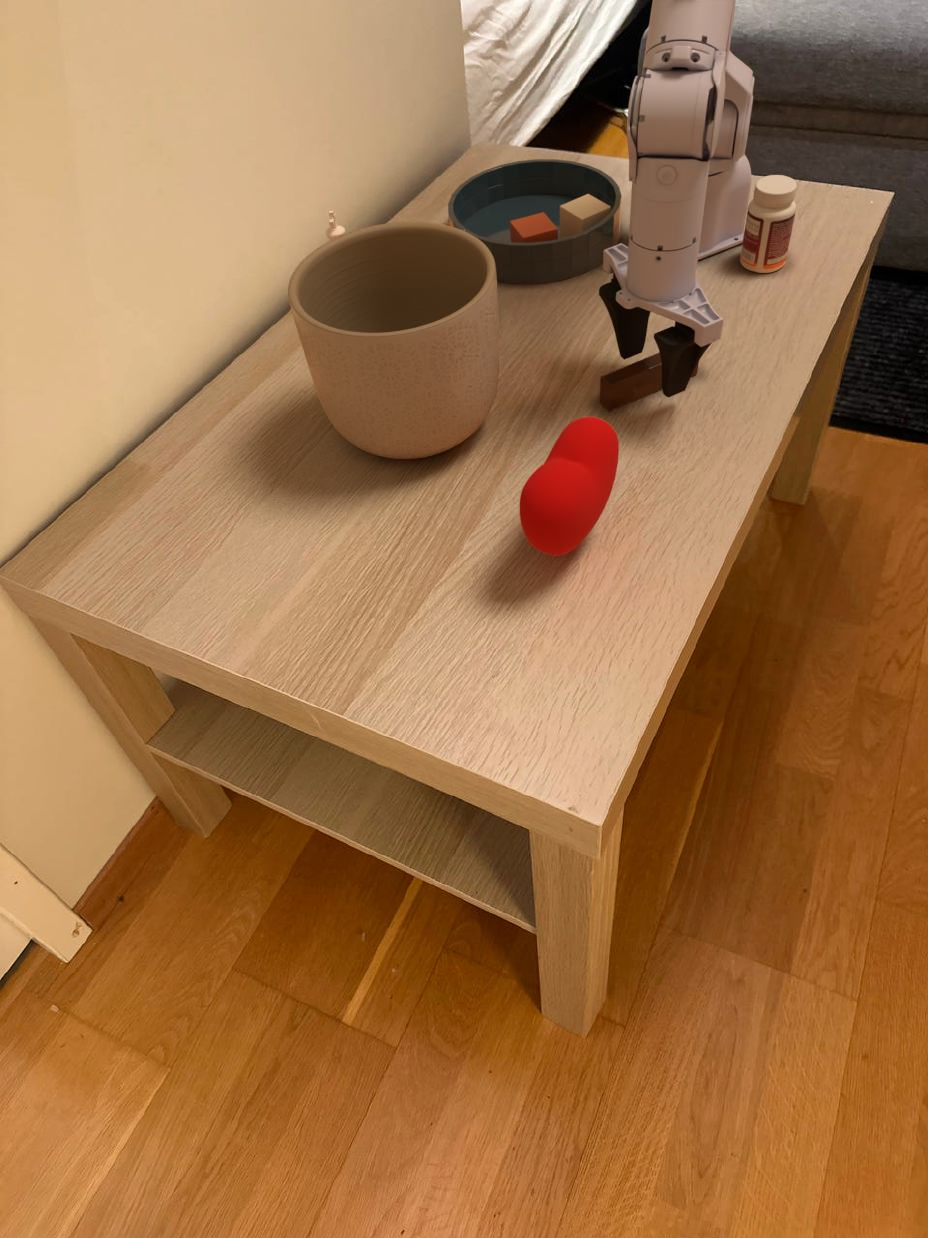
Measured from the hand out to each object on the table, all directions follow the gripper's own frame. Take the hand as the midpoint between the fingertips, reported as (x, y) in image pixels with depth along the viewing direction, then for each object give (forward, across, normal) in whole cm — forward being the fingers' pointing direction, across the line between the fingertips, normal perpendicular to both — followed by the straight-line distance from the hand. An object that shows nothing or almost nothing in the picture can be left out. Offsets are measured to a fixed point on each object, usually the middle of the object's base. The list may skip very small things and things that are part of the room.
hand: (652, 372), depth 83 cm
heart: (+2, +13, -17) cm, 21 cm away
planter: (+2, -8, -21) cm, 23 cm away
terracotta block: (+1, -25, +2) cm, 25 cm away
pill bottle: (+2, -11, +22) cm, 25 cm away
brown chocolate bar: (+2, 0, 0) cm, 2 cm away
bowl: (+2, -30, +5) cm, 30 cm away
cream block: (+1, -25, +9) cm, 27 cm away
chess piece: (+2, -31, -18) cm, 36 cm away
